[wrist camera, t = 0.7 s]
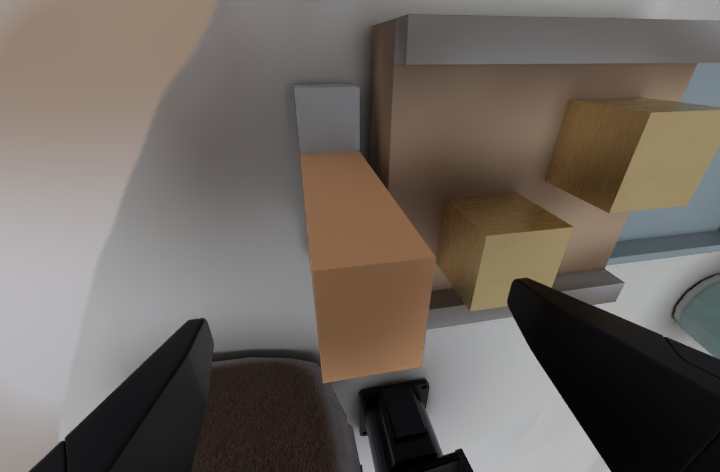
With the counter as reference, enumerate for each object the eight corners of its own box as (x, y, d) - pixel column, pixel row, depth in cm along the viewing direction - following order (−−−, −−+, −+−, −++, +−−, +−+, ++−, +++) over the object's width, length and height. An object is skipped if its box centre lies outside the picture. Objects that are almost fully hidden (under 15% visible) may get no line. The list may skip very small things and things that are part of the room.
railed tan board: (555, 255, 25) (615, 301, 21) (368, 277, 23) (389, 335, 18) (634, 29, 18) (756, 21, 13) (372, 26, 16) (408, 14, 11)
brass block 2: (609, 176, 18) (686, 206, 14) (544, 181, 17) (608, 213, 14) (640, 97, 16) (739, 109, 12) (568, 99, 15) (651, 112, 12)
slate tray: (710, 232, 28) (745, 247, 25) (544, 251, 25) (568, 270, 23) (826, 41, 21) (888, 40, 19) (614, 40, 18) (657, 38, 16)
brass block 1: (500, 255, 19) (546, 300, 16) (436, 263, 18) (470, 311, 15) (516, 192, 17) (573, 226, 14) (445, 197, 16) (486, 235, 13)
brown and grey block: (354, 248, 22) (413, 424, 11) (309, 252, 21) (327, 441, 11) (352, 83, 17) (453, 131, 6) (293, 84, 16) (301, 137, 6)
